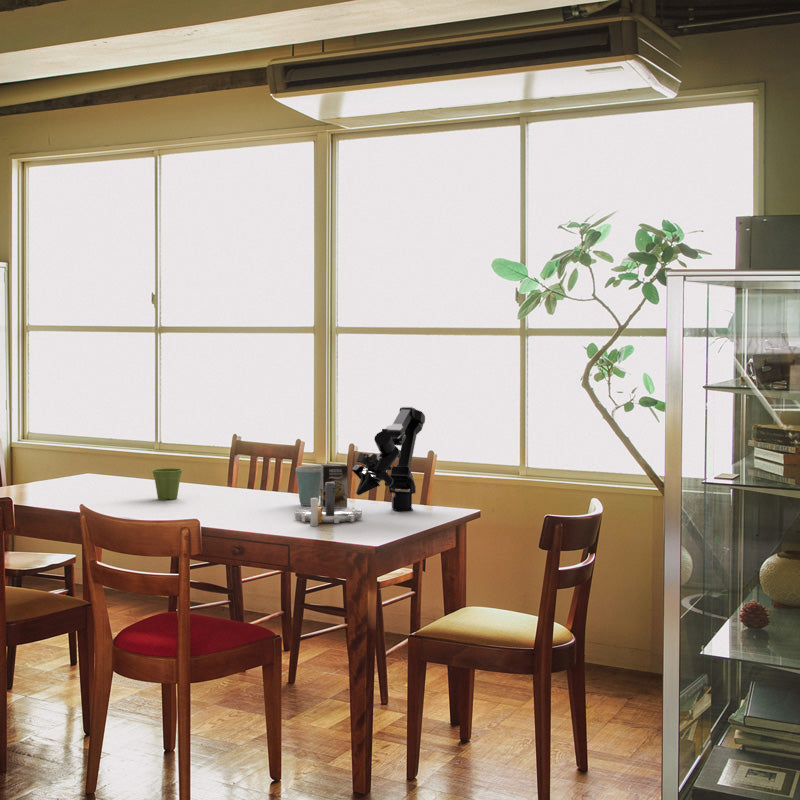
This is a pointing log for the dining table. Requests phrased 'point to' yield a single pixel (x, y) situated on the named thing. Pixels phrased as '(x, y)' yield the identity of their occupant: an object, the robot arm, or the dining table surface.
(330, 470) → the coffee box
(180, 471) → the plant pot
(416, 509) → the dining table surface
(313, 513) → the pointer post
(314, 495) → the disposable coffee cup
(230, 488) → the dining table surface
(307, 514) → the sprocket
